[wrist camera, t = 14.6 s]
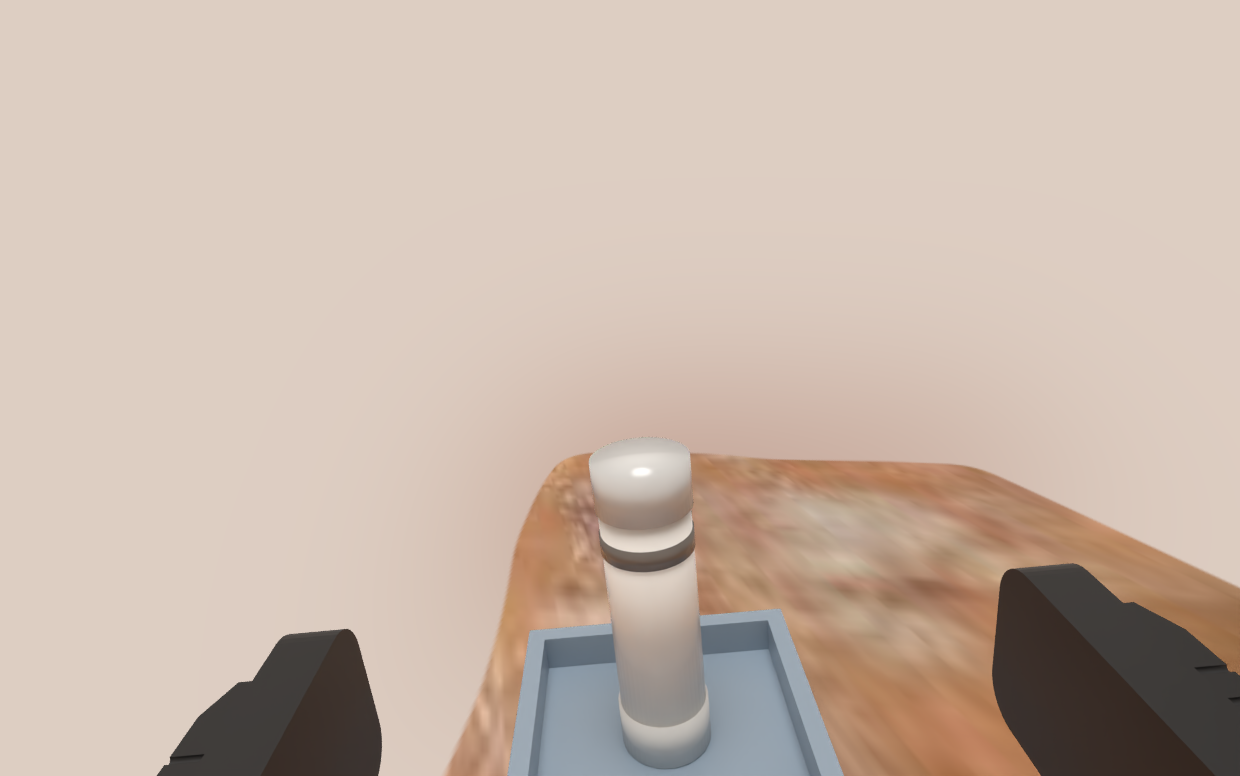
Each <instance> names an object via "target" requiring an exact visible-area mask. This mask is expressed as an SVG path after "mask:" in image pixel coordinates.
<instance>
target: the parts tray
mask: <svg viewBox="0 0 1240 776" xmlns="http://www.w3.org/2000/svg"><path fill="white" fill-rule="evenodd" d="M700 626H701V639H702V652H703V665H704V677H705V684H706V686H707V689H708V698H709V711H710V724H711V739H710V743H709V745H708V747H707V749H706V750H705V751H704V753H703V754H702V755H701V756H700V757H699V758H697V759H696V760H694V761H693V762H691V763H689V764H687V765H684V766H681V767H677V768H671V769H660V768H654V767H650V766H647V765H644V764H642V763H640V762H639V761H637V760H636V759H634V758H633V757H632V756H631V755H630V754H629V752H628V751H627V749H626V747H625V744H624V741H623V733H622V725H621V717H620V709H619V700H618V698H619V692H620V689H619V681H618V673H617V665H616V657H615V649H614V641H613V633H612V625H611V624H600V625H589V626H577V627H566V628H555V629H543V630H532V631H530V633H529V640H528V646H527V653H526V659H525V666H524V672H523V679H522V685H521V691H520V698H519V704H518V711H517V717H516V724H515V730H514V737H513V743H512V749H511V756H510V762H509V769H508V775H507V776H844V775H843V772H842V770H841V767H840V765H839V762H838V759H837V757H836V754H835V751H834V749H833V746H832V743H831V741H830V738H829V736H828V733H827V730H826V728H825V725H824V722H823V720H822V717H821V714H820V712H819V709H818V707H817V704H816V701H815V699H814V696H813V693H812V691H811V688H810V686H809V683H808V680H807V678H806V675H805V672H804V670H803V667H802V664H801V662H800V659H799V657H798V654H797V651H796V649H795V646H794V643H793V641H792V638H791V635H790V633H789V630H788V628H787V625H786V622H785V620H784V617H783V614H782V612H781V609H771V610H760V611H748V612H737V613H726V614H714V615H703V616H700Z"/></svg>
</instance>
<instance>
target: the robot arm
mask: <svg viewBox="0 0 1240 776" xmlns="http://www.w3.org/2000/svg"><path fill="white" fill-rule="evenodd" d="M992 677H993V686H994V691H995V696H996V699H997V703H998V706H999V708H1000V711H1001V713H1002V716H1003V718H1004V720H1005V722H1006V724H1007V725H1008V727H1009V729H1010V730H1011V732H1012V733H1013V735H1014V736H1015V738H1016V739H1017V741H1018V742H1019V744H1020V745H1021V747H1022V748H1023V749H1024V751H1025V752H1026V754H1027V755H1028V757H1029V758H1030V760H1031V761H1032V763H1033V764H1034V766H1035V767H1036V769H1037V770H1038V772H1039V773H1040V775H1041V776H1240V676H1239V675H1238V674H1237V673H1236V672H1229V671H1228V669H1227V664H1225V663H1224V662H1223V661H1222V660H1221V659H1219V658H1218V657H1217V656H1216V655H1215V654H1214V653H1212V652H1211V651H1210V650H1209V649H1208V648H1207V647H1205V646H1204V645H1203V644H1202V643H1201V642H1200V641H1198V640H1197V639H1196V638H1195V637H1194V636H1193V635H1191V634H1190V633H1189V632H1188V631H1187V630H1186V629H1184V628H1182V627H1180V626H1178V625H1176V624H1174V623H1172V622H1170V621H1168V620H1167V619H1165V618H1163V617H1161V616H1159V615H1157V614H1155V613H1153V612H1151V611H1149V610H1148V609H1146V608H1144V607H1142V606H1140V605H1138V604H1136V603H1134V602H1131V603H1122V602H1121V601H1120V600H1119V599H1118V598H1117V597H1116V596H1115V595H1114V594H1112V593H1111V592H1110V591H1109V590H1108V589H1107V588H1106V587H1105V586H1104V585H1102V584H1101V583H1100V582H1099V581H1098V580H1097V579H1096V578H1095V577H1094V576H1093V575H1091V574H1090V573H1089V572H1088V571H1087V570H1086V569H1084V568H1083V567H1081V566H1080V565H1077V564H1073V563H1072V564H1060V565H1049V566H1038V567H1028V568H1017V569H1009V570H1007V571H1006V572H1005V573H1004V575H1003V577H1002V580H1001V584H1000V592H999V603H998V613H997V624H996V635H995V646H994V657H993V668H992ZM381 752H382V737H381V728H380V723H379V719H378V715H377V712H376V708H375V704H374V700H373V696H372V693H371V689H370V685H369V681H368V678H367V674H366V670H365V666H364V663H363V660H362V655H361V652H360V648H359V644H358V641H357V639H356V637H355V635H354V634H353V632H352V631H351V630H348V629H342V630H331V631H321V632H309V633H299V634H289V635H286V636H283V637H282V638H281V639H280V640H279V641H278V643H277V644H276V645H275V647H274V649H273V650H272V652H271V653H270V655H269V656H268V658H267V659H266V661H265V662H264V664H263V665H262V667H261V668H260V670H259V671H258V673H257V675H256V676H255V678H254V679H253V681H249V682H239V683H237V684H236V685H235V686H234V687H233V688H232V689H230V690H229V691H228V692H227V693H226V694H225V695H224V696H222V697H221V698H220V699H219V700H218V701H217V702H215V703H214V704H213V705H212V706H211V707H209V708H208V709H207V710H206V711H205V712H204V713H203V714H201V715H200V716H199V717H198V718H197V719H196V721H195V722H194V724H193V725H192V727H191V728H190V729H189V731H188V732H187V734H186V735H185V737H184V738H183V739H182V741H181V742H180V744H179V745H178V747H177V748H176V749H175V751H174V752H173V754H172V755H171V757H170V763H169V765H164V766H163V768H162V769H161V771H160V772H159V773H158V775H157V776H378V774H379V768H380V762H381Z"/></svg>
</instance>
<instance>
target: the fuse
mask: <svg viewBox="0 0 1240 776" xmlns="http://www.w3.org/2000/svg"><path fill="white" fill-rule="evenodd" d="M589 469H590V477H591V485H592V493H593V501H594V509H595V514H596V516H597V517H598V520H599V528H600V529H599V538H600V546H601V554H602V557H603V560H604V568H605V576H606V584H607V592H608V601H609V609H610V617H611V625H612V633H613V641H614V649H615V657H616V665H617V673H618V681H619V689H620V692H619V698H618V700H619V709H620V717H621V725H622V733H623V741H624V744H625V747H626V749H627V751H628V752H629V754H630V755H631V756H632V757H633V758H634V759H636V760H637V761H639V762H640V763H642V764H644V765H647V766H650V767H654V768H660V769H671V768H677V767H681V766H684V765H687V764H689V763H691V762H693V761H694V760H696V759H697V758H699V757H700V756H701V755H702V754H703V753H704V751H705V750H706V749H707V747H708V745H709V743H710V739H711V724H710V711H709V698H708V689H707V686H706V684H705V677H704V665H703V652H702V639H701V626H700V613H699V600H698V588H697V575H696V562H695V532H694V522H693V520H692V511H691V509H692V507H693V503H694V502H693V489H692V476H691V463H690V452H689V450H688V448H687V447H686V446H685V445H683V444H682V443H680V442H677V441H674V440H671V439H666V438H657V437H641V438H631V439H626V440H621V441H617V442H614V443H611V444H608V445H606V446H604V447H602V448H600V449H598V450H597V451H596V452H594V453H593V454H592V456H591V457H590V459H589Z"/></svg>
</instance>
